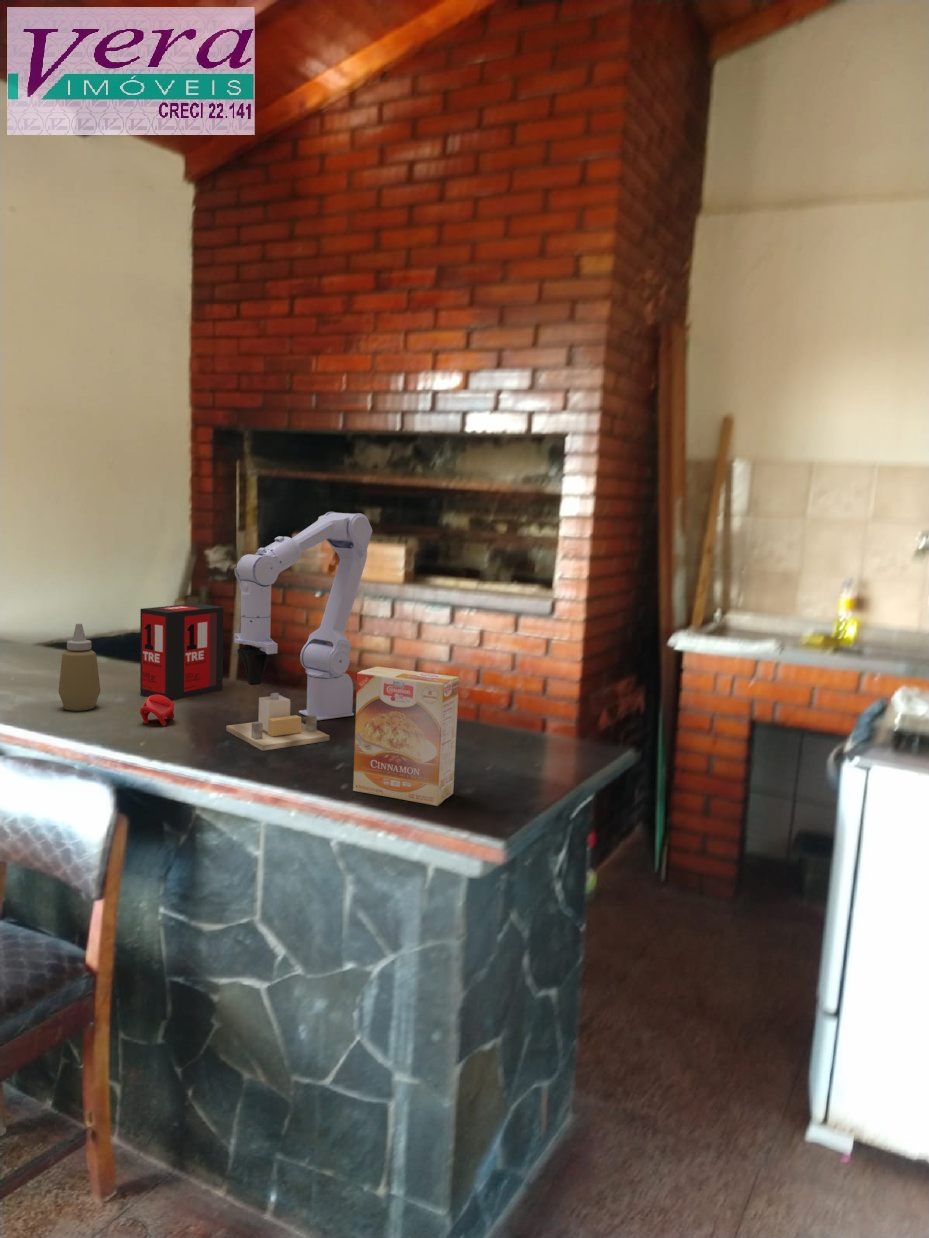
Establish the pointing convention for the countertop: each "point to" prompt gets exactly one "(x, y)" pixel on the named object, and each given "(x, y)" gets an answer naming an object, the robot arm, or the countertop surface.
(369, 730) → the coffeecake box
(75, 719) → the countertop surface
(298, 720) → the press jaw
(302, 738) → the press bed
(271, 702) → the block
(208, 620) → the cleaning product box
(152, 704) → the red toy chair
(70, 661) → the squeeze bottle
